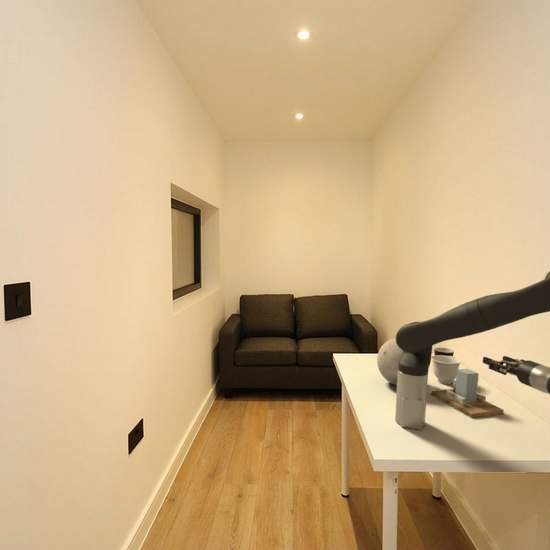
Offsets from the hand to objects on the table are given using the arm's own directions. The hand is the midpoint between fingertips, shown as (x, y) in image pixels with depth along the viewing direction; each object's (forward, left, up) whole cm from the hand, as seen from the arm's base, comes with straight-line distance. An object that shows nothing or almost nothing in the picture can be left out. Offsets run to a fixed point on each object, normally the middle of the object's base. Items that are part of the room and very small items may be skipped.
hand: (493, 359), depth 121 cm
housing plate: (+9, +5, -20) cm, 23 cm away
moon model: (+21, +27, -21) cm, 40 cm away
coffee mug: (+49, +5, -21) cm, 54 cm away
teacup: (+33, +7, -21) cm, 40 cm away
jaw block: (+9, +5, -19) cm, 22 cm away
